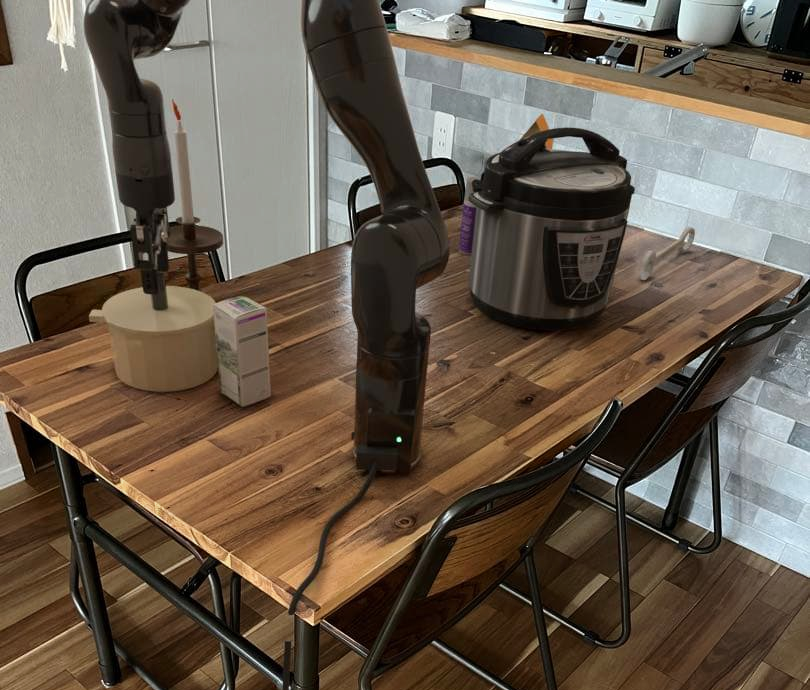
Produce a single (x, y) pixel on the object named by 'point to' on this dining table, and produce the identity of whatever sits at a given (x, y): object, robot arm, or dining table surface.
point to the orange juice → (539, 130)
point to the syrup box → (242, 350)
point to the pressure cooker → (549, 231)
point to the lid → (159, 310)
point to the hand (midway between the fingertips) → (156, 281)
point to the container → (468, 220)
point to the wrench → (666, 252)
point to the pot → (163, 357)
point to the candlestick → (189, 215)
